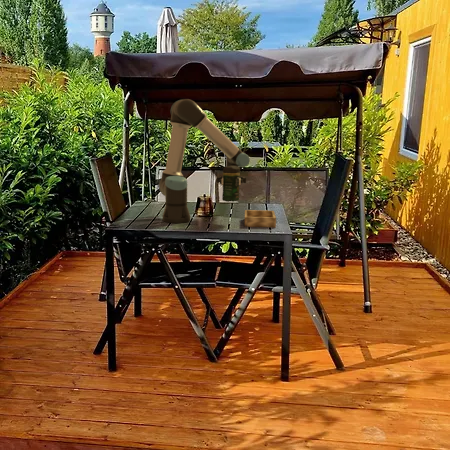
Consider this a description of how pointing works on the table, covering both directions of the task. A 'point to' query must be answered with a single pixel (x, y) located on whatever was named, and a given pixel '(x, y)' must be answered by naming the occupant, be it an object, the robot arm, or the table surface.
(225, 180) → the coffee jar
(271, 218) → the pine crate
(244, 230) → the table surface
